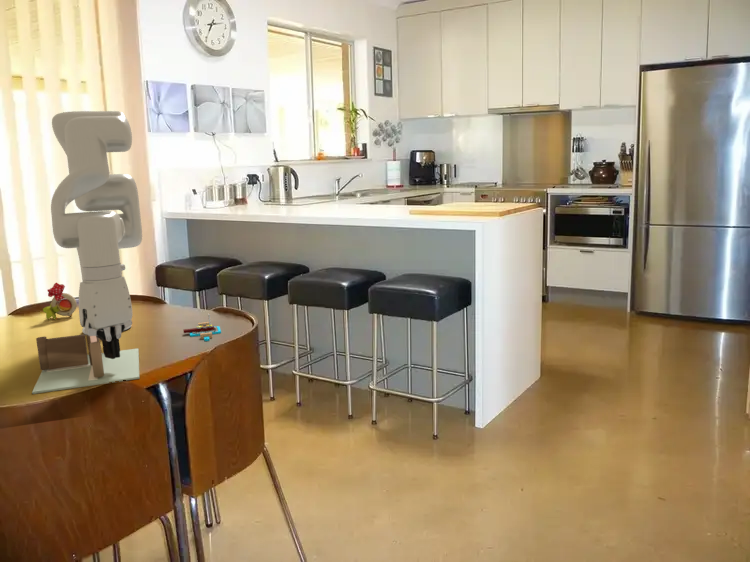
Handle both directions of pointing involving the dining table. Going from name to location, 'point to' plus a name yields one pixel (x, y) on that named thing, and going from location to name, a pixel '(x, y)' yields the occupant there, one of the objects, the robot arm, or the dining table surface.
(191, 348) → the dining table surface
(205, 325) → the gear mechanism
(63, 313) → the bird rattle
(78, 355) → the fence fixed
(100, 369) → the pink rectangular panel
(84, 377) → the card
